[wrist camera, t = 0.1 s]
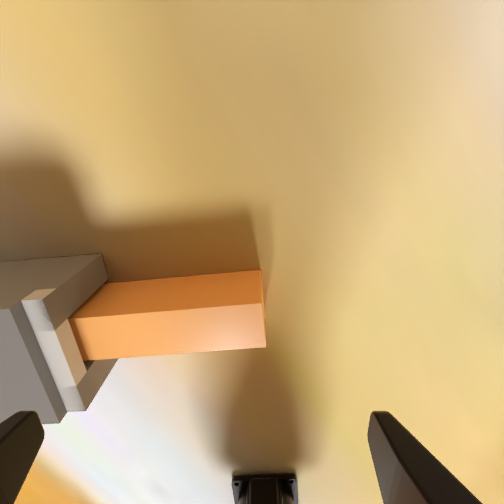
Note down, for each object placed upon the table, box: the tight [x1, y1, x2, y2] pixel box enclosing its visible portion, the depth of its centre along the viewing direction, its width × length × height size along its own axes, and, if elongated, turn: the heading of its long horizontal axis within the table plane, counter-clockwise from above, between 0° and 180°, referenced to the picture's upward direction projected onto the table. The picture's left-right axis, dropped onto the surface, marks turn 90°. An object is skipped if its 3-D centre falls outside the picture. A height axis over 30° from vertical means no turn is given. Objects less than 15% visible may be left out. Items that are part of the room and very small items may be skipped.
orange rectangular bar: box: [68, 270, 266, 361], centre depth 21 cm, size 20×3×5 cm, turn 96°
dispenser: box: [0, 254, 118, 424], centre depth 20 cm, size 10×8×7 cm
